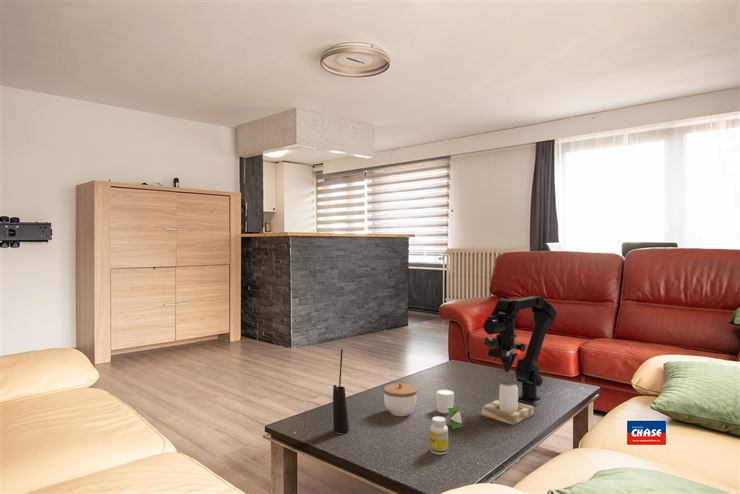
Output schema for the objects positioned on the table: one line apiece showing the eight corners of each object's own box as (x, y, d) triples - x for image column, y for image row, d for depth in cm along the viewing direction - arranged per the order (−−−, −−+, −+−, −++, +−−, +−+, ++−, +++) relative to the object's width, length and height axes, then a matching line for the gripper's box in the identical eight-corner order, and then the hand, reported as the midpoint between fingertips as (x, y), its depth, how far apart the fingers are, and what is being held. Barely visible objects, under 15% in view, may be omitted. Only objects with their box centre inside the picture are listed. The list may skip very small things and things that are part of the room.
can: (498, 418, 165) (498, 384, 165) (500, 412, 171) (500, 379, 171) (517, 420, 163) (517, 386, 163) (518, 414, 169) (518, 381, 169)
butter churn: (321, 427, 157) (321, 345, 157) (347, 423, 161) (347, 343, 161) (329, 437, 148) (329, 351, 149) (356, 433, 152) (356, 348, 152)
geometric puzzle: (438, 416, 161) (446, 403, 157) (455, 413, 164) (462, 400, 159) (447, 435, 156) (455, 421, 151) (464, 431, 158) (472, 418, 154)
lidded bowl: (424, 412, 171) (424, 382, 171) (402, 421, 162) (402, 390, 162) (398, 404, 180) (398, 376, 180) (376, 413, 171) (376, 383, 171)
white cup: (454, 414, 169) (454, 395, 169) (435, 413, 170) (435, 394, 170) (454, 408, 176) (454, 389, 176) (436, 406, 177) (436, 388, 177)
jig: (501, 405, 178) (501, 398, 178) (533, 414, 169) (533, 406, 169) (481, 414, 168) (481, 406, 168) (513, 424, 159) (513, 416, 159)
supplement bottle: (428, 447, 141) (428, 415, 141) (445, 446, 142) (445, 415, 142) (432, 455, 136) (432, 422, 136) (450, 454, 136) (450, 421, 136)
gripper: (501, 326, 191) (501, 363, 191) (475, 331, 178) (475, 372, 178) (526, 329, 183) (526, 369, 183) (501, 336, 170) (501, 378, 170)
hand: (506, 371), depth 179 cm, fingers closed
